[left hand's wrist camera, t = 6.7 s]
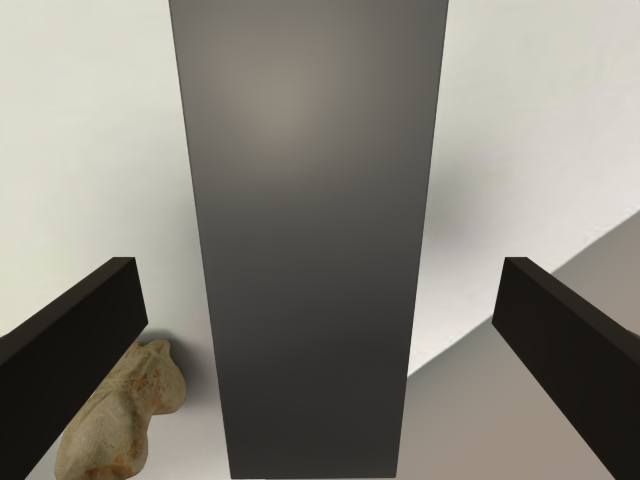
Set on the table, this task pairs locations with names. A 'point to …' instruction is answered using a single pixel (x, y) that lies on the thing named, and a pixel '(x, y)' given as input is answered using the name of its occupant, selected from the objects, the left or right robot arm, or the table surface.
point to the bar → (310, 218)
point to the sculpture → (121, 416)
